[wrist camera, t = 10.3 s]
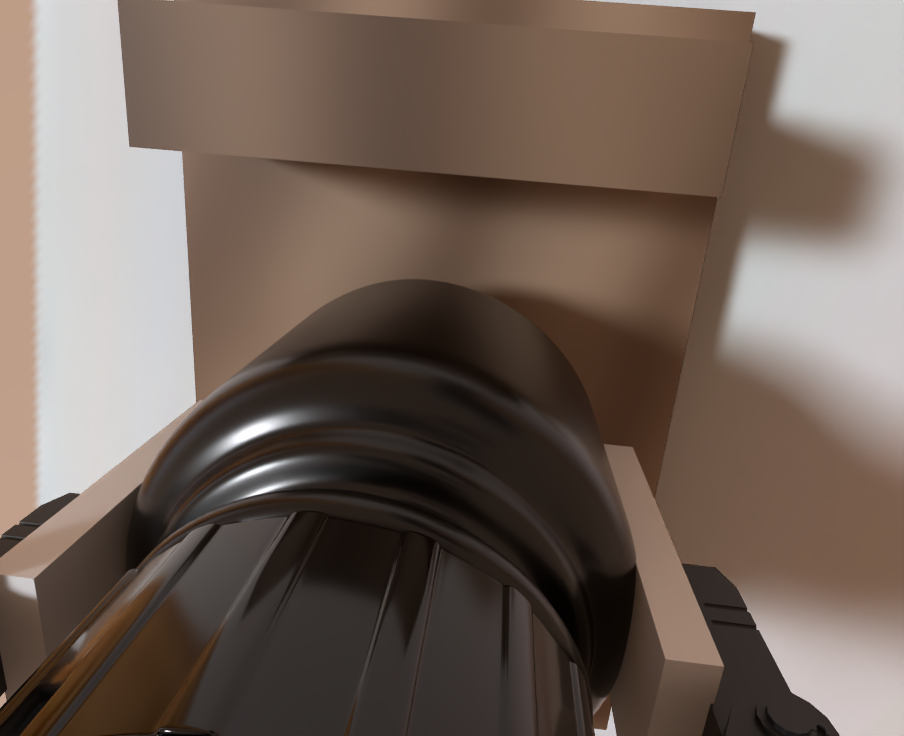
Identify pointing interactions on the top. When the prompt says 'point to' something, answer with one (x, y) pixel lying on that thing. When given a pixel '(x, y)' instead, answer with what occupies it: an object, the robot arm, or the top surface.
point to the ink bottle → (364, 544)
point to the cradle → (449, 170)
